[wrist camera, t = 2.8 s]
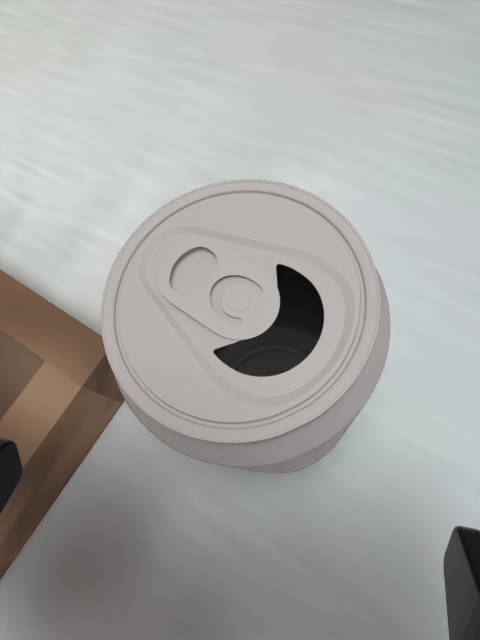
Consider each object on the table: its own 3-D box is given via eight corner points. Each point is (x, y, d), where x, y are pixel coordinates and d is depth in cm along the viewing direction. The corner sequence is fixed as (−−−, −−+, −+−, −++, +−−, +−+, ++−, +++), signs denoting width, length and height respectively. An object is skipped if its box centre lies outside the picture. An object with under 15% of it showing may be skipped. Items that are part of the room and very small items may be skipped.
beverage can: (297, 505, 18) (278, 549, 7) (178, 415, 20) (19, 339, 9) (377, 379, 20) (468, 247, 8) (258, 305, 22) (204, 119, 10)
